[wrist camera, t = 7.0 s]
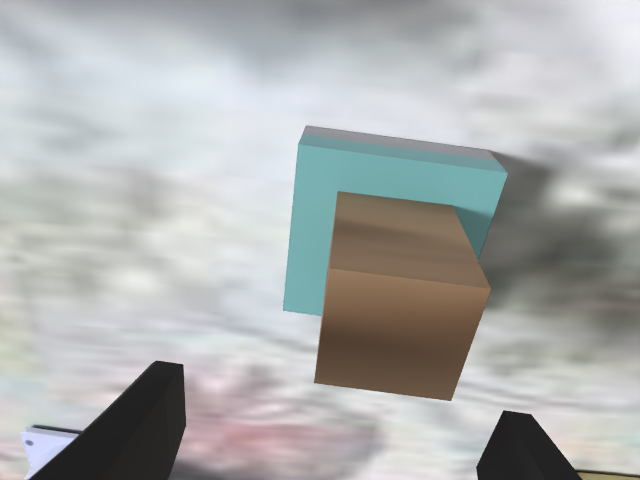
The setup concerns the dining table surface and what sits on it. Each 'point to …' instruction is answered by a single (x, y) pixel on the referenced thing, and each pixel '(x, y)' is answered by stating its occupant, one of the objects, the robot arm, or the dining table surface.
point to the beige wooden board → (604, 477)
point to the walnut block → (398, 297)
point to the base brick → (378, 194)
